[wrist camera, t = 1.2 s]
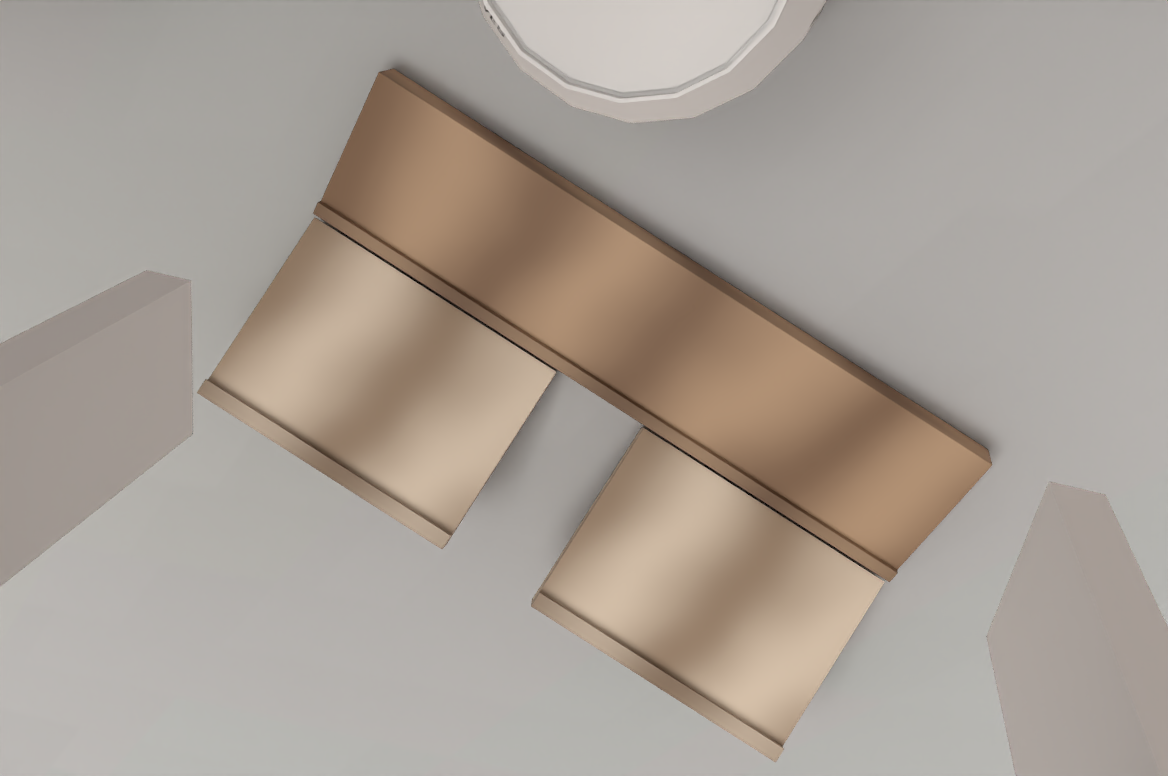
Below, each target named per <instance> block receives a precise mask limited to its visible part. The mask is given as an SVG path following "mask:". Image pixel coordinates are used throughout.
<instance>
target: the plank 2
mask: <svg viewBox="0 0 1168 776" xmlns="http://www.w3.org/2000/svg"><path fill="white" fill-rule="evenodd" d="M883 584H884V581H882V580H881V579H879V578H878V577H876V576H874V575H873V574H871V573H870V572H868V571H867V570H865V569H863V568H862V567H860V566H859V565H857V564H856V563H854V562H853V561H851V560H849V559H848V558H846V557H845V556H843V555H842V554H840V553H838V552H837V551H835V550H834V549H832V548H831V547H829V546H828V545H826V544H824V543H823V542H821V541H820V540H818V539H817V538H815V537H813V536H812V535H810V534H809V533H807V532H806V531H804V530H803V529H801V528H799V527H798V526H796V525H795V524H793V523H792V522H790V521H788V520H787V519H785V518H784V517H782V516H781V515H779V514H778V513H776V512H774V511H773V510H771V509H770V508H768V507H767V506H765V505H763V504H762V503H760V502H759V501H757V500H756V499H754V498H753V497H751V496H749V495H748V494H746V493H745V492H743V491H742V490H740V489H738V488H737V487H735V486H734V485H732V484H731V483H729V482H727V481H726V480H724V479H723V478H721V477H720V476H718V475H717V474H715V473H713V472H712V471H710V470H709V469H707V468H706V467H704V466H702V465H701V464H699V463H698V462H696V461H695V460H693V459H692V458H690V457H688V456H687V455H685V454H684V453H682V452H681V451H679V450H677V449H676V448H674V447H673V446H671V445H670V444H668V443H667V442H665V441H663V440H662V439H660V438H659V437H657V436H656V435H654V434H652V433H651V432H649V431H648V430H646V429H645V428H641V429H640V431H639V432H638V434H637V435H636V437H635V439H634V440H633V442H632V443H631V445H630V446H629V448H628V450H627V451H626V453H625V454H624V456H623V457H622V459H621V461H620V462H619V464H618V465H617V467H616V468H615V470H614V472H613V473H612V475H611V476H610V478H609V479H608V481H607V483H606V484H605V486H604V487H603V489H602V490H601V492H600V494H599V495H598V497H597V498H596V500H595V501H594V503H593V505H592V506H591V508H590V509H589V511H588V512H587V514H586V516H585V517H584V519H583V520H582V522H581V523H580V525H579V527H578V528H577V530H576V531H575V533H574V534H573V536H572V538H571V539H570V541H569V542H568V544H567V545H566V547H565V549H564V550H563V552H562V553H561V555H560V556H559V558H558V560H557V561H556V563H555V564H554V566H553V567H552V569H551V571H550V572H549V574H548V575H547V577H546V578H545V580H544V582H543V583H542V585H541V586H540V588H539V589H538V591H537V593H536V594H535V596H534V597H533V599H532V604H531V606H532V607H533V608H535V609H536V610H538V611H539V612H541V613H543V614H544V615H546V616H547V617H549V618H550V619H552V620H553V621H555V622H557V623H558V624H560V625H561V626H563V627H564V628H566V629H568V630H569V631H571V632H572V633H574V634H575V635H577V636H579V637H580V638H582V639H583V640H585V641H586V642H588V643H589V644H591V645H593V646H594V647H596V648H597V649H599V650H600V651H602V652H604V653H605V654H607V655H608V656H610V657H611V658H613V659H614V660H616V661H618V662H619V663H621V664H622V665H624V666H625V667H627V668H629V669H630V670H632V671H633V672H635V673H636V674H638V675H640V676H641V677H643V678H644V679H646V680H647V681H649V682H650V683H652V684H654V685H655V686H657V687H658V688H660V689H661V690H663V691H665V692H666V693H668V694H669V695H671V696H672V697H674V698H676V699H677V700H679V701H680V702H682V703H683V704H685V705H686V706H688V707H690V708H691V709H693V710H694V711H696V712H697V713H699V714H701V715H702V716H704V717H705V718H707V719H708V720H710V721H712V722H713V723H715V724H716V725H718V726H719V727H721V728H722V729H724V730H726V731H727V732H729V733H730V734H732V735H733V736H735V737H737V738H738V739H740V740H741V741H743V742H744V743H746V744H748V745H749V746H751V747H752V748H754V749H755V750H757V751H758V752H760V753H762V754H763V755H765V756H766V757H768V758H769V759H771V760H773V761H774V762H776V761H777V759H778V758H779V756H780V755H781V753H782V751H783V750H784V748H783V747H782V746H783V745H784V743H785V741H786V740H787V738H788V737H789V735H790V733H791V732H792V730H793V729H794V727H795V725H796V724H797V722H798V721H799V719H800V717H801V716H802V714H803V712H804V711H805V709H806V708H807V706H808V704H809V703H810V701H811V700H812V698H813V696H814V695H815V693H816V692H817V690H818V688H819V687H820V685H821V684H822V682H823V680H824V679H825V677H826V676H827V674H828V672H829V671H830V669H831V668H832V666H833V664H834V663H835V661H836V659H837V658H838V656H839V655H840V653H841V651H842V650H843V648H844V647H845V645H846V643H847V642H848V640H849V639H850V637H851V635H852V634H853V632H854V631H855V629H856V627H857V626H858V624H859V623H860V621H861V619H862V618H863V616H864V615H865V613H866V611H867V610H868V608H869V606H870V605H871V603H872V602H873V600H874V598H875V597H876V595H877V594H878V592H879V590H880V589H881V587H882V586H883Z"/></svg>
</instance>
